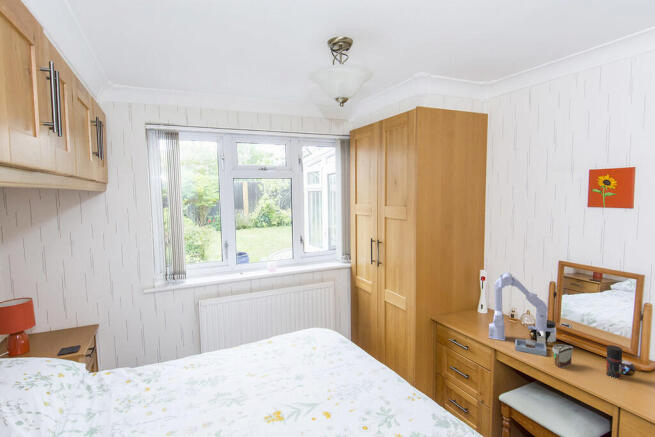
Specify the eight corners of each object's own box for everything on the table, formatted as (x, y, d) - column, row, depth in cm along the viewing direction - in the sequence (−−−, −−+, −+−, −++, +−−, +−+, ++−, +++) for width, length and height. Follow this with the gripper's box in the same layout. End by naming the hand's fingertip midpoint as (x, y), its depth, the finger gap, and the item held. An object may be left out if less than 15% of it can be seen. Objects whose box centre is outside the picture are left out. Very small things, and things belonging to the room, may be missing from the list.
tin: (525, 349, 204) (525, 342, 203) (525, 346, 208) (525, 339, 207) (535, 351, 201) (535, 343, 201) (534, 347, 205) (534, 340, 205)
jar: (549, 343, 210) (550, 325, 210) (537, 338, 218) (537, 321, 217) (558, 340, 214) (558, 322, 213) (545, 335, 222) (545, 318, 221)
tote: (515, 350, 203) (515, 345, 203) (515, 343, 213) (515, 338, 213) (546, 356, 195) (546, 351, 195) (545, 348, 205) (545, 343, 204)
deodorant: (619, 379, 169) (620, 351, 168) (604, 375, 174) (605, 347, 173) (622, 375, 173) (623, 348, 171) (608, 371, 177) (609, 344, 176)
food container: (561, 358, 192) (562, 342, 191) (572, 363, 186) (573, 346, 185) (546, 363, 187) (547, 346, 187) (557, 368, 182) (558, 351, 181)
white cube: (536, 344, 210) (537, 338, 209) (536, 342, 213) (536, 335, 213) (545, 346, 207) (545, 339, 207) (544, 343, 211) (545, 336, 211)
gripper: (528, 321, 210) (527, 342, 211) (555, 325, 202) (555, 346, 203) (527, 317, 216) (527, 337, 217) (554, 321, 208) (554, 342, 209)
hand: (540, 341), depth 210 cm, fingers closed on white cube, 4 cm apart
